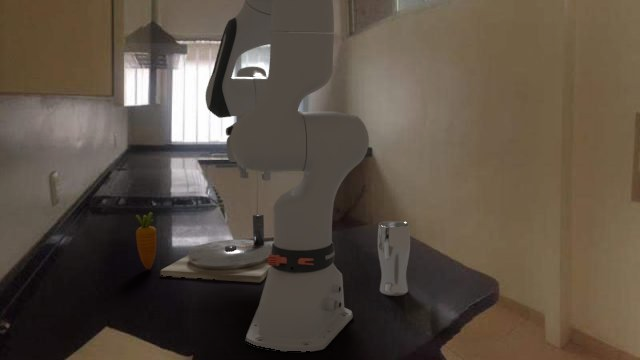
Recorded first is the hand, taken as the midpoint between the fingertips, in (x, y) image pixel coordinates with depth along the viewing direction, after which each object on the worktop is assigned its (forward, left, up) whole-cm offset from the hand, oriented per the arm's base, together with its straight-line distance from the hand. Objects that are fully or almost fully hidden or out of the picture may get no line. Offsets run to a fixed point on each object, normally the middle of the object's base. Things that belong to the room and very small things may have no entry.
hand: (255, 179), depth 129 cm
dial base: (-8, +5, -22) cm, 24 cm away
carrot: (-17, +24, -22) cm, 36 cm away
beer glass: (-21, -39, -22) cm, 50 cm away
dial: (-8, +4, -20) cm, 22 cm away
